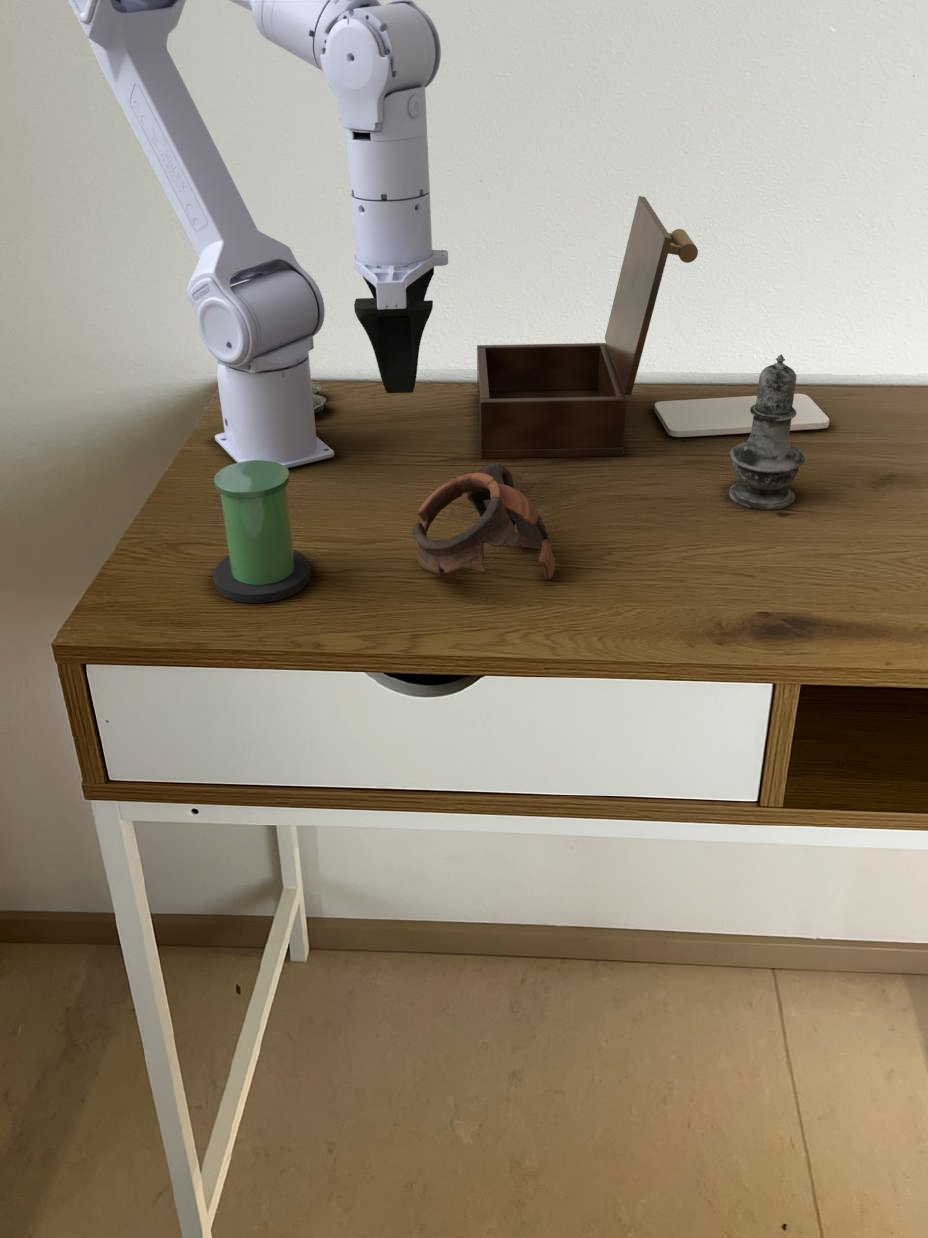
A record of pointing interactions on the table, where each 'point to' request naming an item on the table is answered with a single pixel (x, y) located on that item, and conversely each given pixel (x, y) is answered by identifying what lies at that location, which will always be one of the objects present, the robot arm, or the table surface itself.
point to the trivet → (262, 592)
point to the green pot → (257, 520)
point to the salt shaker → (768, 444)
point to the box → (549, 401)
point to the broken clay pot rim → (482, 523)
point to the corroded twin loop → (317, 398)
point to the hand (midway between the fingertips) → (401, 373)
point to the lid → (641, 288)
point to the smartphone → (729, 415)
